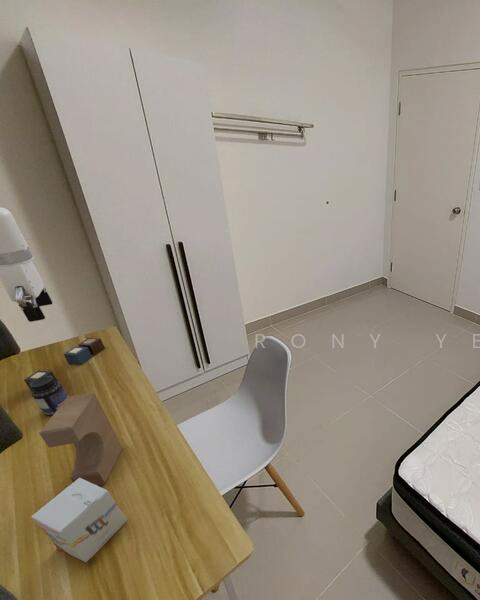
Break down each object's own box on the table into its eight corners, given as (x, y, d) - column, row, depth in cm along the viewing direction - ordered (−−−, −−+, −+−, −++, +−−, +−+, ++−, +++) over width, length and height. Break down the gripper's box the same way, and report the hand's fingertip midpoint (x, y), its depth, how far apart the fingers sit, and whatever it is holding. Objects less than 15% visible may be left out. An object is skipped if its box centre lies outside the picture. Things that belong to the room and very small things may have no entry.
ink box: (55, 548, 67) (27, 515, 61) (100, 508, 74) (79, 475, 68) (85, 564, 65) (59, 532, 59) (128, 521, 72) (109, 488, 66)
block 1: (44, 391, 103) (37, 380, 101) (30, 390, 103) (23, 379, 101) (58, 381, 107) (51, 371, 105) (44, 380, 107) (38, 370, 105)
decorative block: (104, 485, 78) (69, 428, 69) (75, 491, 77) (35, 433, 67) (124, 447, 88) (96, 391, 78) (99, 451, 86) (66, 395, 77)
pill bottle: (72, 398, 101) (57, 370, 96) (72, 410, 97) (55, 382, 92) (45, 407, 98) (27, 379, 93) (43, 420, 94) (24, 391, 89)
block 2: (81, 365, 115) (75, 354, 113) (68, 364, 115) (63, 353, 113) (92, 357, 119) (87, 346, 117) (80, 356, 119) (75, 346, 117)
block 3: (94, 355, 120) (89, 345, 117) (82, 354, 120) (77, 344, 117) (105, 348, 124) (100, 338, 121) (93, 347, 124) (88, 337, 121)
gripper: (1, 248, 90) (31, 302, 98) (-23, 270, 77) (14, 330, 85) (39, 244, 94) (64, 297, 102) (22, 264, 81) (53, 322, 89)
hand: (41, 312), depth 93 cm, fingers open, 9 cm apart
